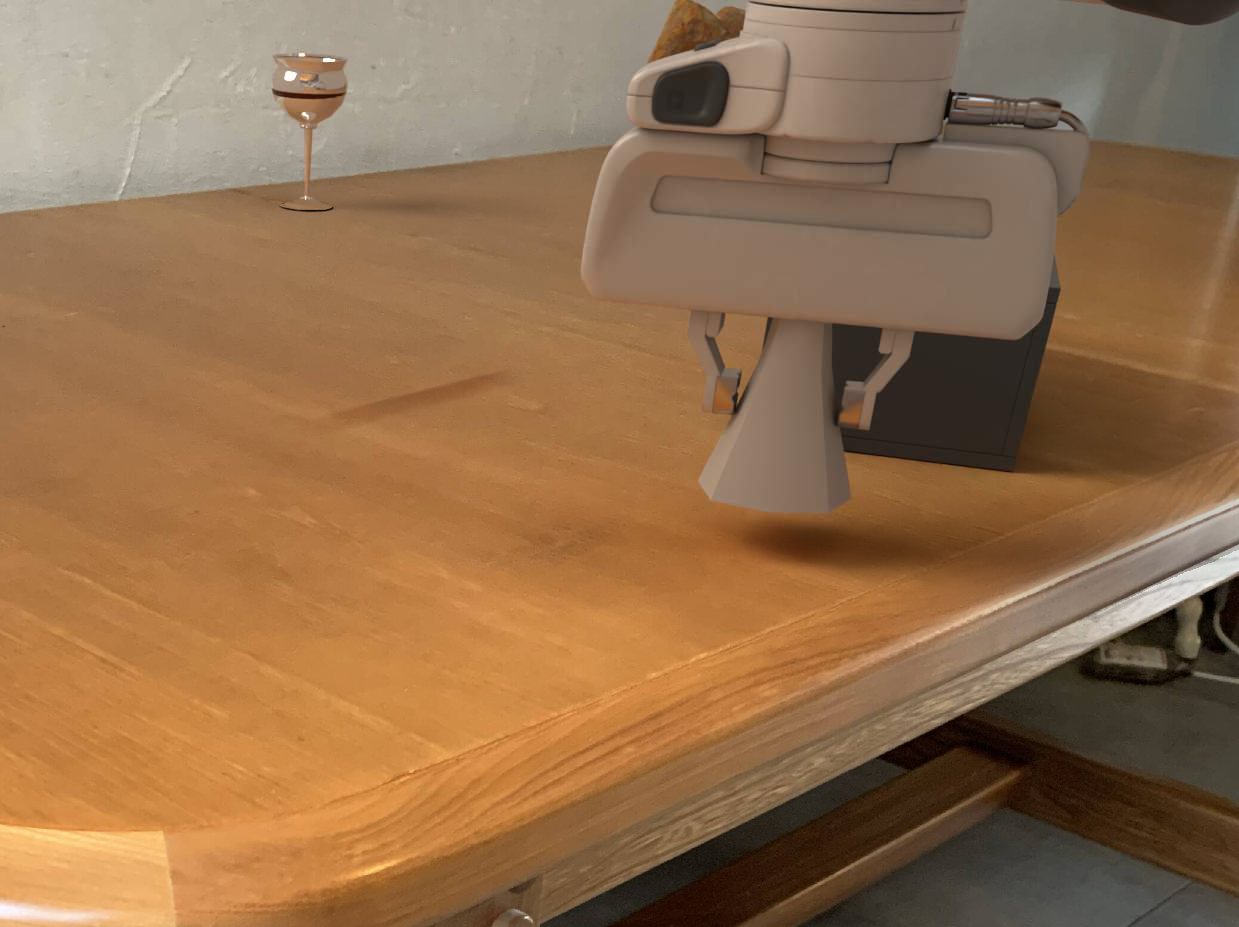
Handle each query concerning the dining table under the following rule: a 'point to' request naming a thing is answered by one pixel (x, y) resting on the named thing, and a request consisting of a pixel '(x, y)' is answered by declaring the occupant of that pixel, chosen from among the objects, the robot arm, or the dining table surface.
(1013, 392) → the cabinet
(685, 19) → the rough brown rock
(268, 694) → the dining table surface
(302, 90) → the wineglass
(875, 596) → the dining table surface
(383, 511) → the dining table surface
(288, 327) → the dining table surface
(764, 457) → the flask
